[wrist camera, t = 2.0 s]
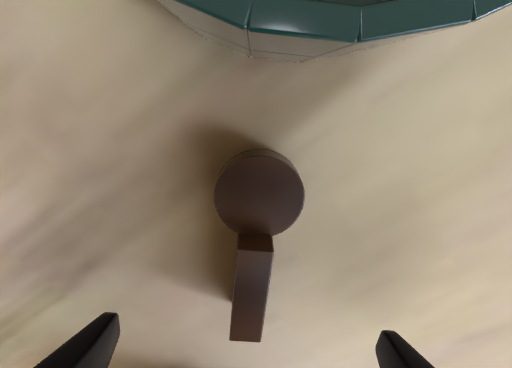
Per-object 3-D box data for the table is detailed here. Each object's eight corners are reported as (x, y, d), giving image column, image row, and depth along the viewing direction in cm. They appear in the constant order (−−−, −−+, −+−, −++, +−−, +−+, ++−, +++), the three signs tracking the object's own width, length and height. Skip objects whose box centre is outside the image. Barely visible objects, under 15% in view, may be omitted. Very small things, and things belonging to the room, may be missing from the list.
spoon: (280, 307, 15) (284, 344, 13) (211, 302, 14) (204, 339, 12) (307, 153, 11) (319, 170, 9) (218, 145, 11) (211, 160, 9)
